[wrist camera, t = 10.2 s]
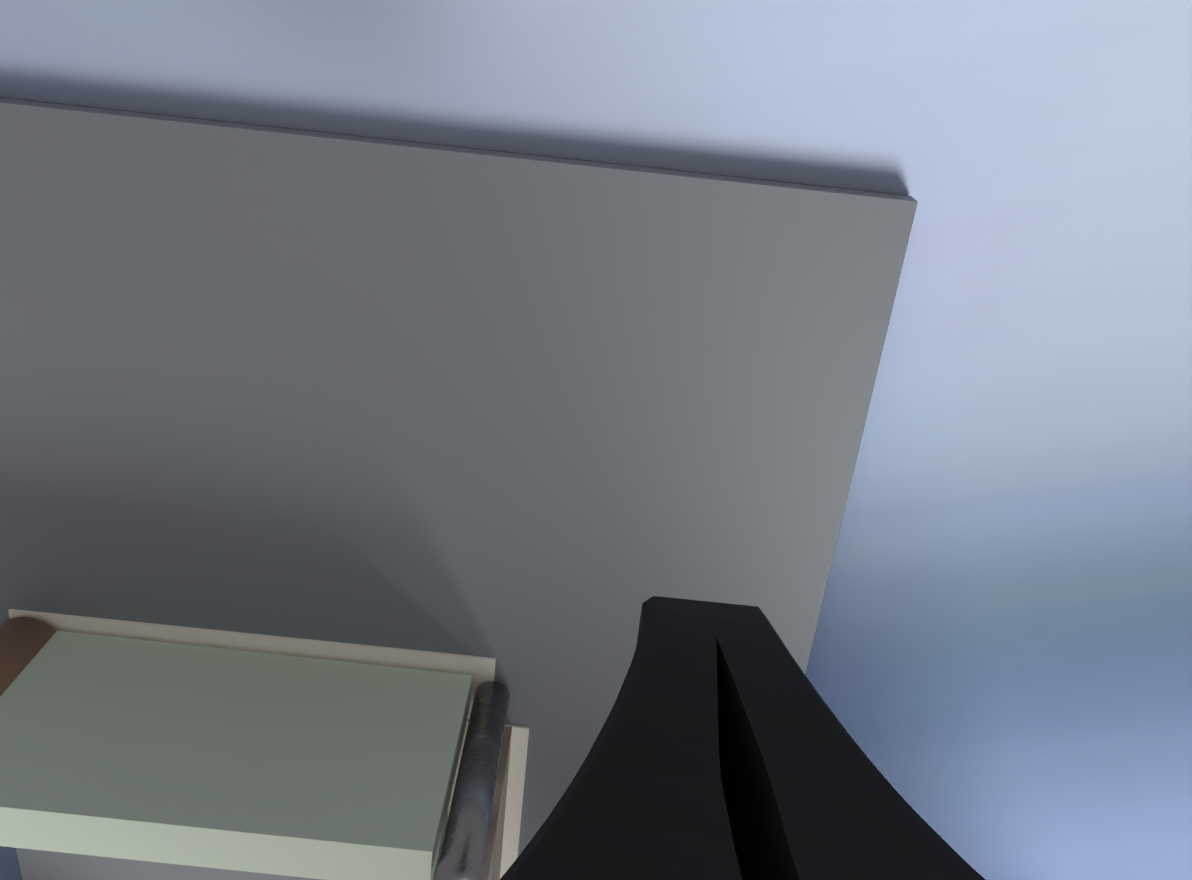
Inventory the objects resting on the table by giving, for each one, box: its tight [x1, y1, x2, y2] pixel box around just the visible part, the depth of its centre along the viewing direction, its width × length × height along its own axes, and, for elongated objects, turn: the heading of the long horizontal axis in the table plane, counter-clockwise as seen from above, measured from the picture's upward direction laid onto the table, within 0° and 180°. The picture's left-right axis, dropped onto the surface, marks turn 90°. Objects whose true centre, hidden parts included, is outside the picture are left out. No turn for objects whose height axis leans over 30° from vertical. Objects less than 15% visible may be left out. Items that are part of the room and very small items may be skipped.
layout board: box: [0, 98, 917, 880], centre depth 23 cm, size 19×22×1 cm
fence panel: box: [0, 617, 510, 880], centre depth 20 cm, size 12×2×5 cm, turn 84°
